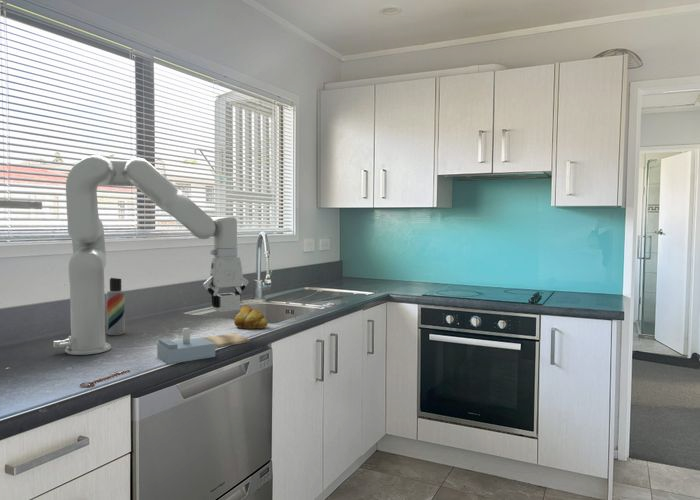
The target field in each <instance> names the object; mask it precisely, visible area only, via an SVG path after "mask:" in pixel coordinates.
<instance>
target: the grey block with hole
mask: <svg viewBox="0 0 700 500" xmlns="http://www.w3.org/2000/svg"><path fill="white" fill-rule="evenodd" d="M234 293H235V292H224V293H217V296H218V308H215V307H213V305H212V304H211V305H212V306H211V309H212V310H213V311H217V312H219V313H222V312H223V313H225V312H232V311H240V309H241V302H240V295H238V294H234Z"/></svg>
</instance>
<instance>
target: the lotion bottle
mask: <svg viewBox="0 0 700 500" xmlns="http://www.w3.org/2000/svg"><path fill="white" fill-rule="evenodd" d="M125 310H126V309H125V290H122V278H117V277H110V278H109V290H108V291H106V318H107V319H106V325H107V326H106V328H107V332H106V333H107V335H109V336H119V335H124V334H125V331H126V319H125V316H126V315H125V312H126V311H125Z"/></svg>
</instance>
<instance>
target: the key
mask: <svg viewBox="0 0 700 500" xmlns="http://www.w3.org/2000/svg"><path fill="white" fill-rule="evenodd" d="M122 371H123V372H121V373H116V372H115V373H116V374H114V375H109V376H105V377H102V378H99V379H97V380H94V381H89V382H87V383H89V384H90V385H88V384H84V383H85V382H83V383H81V384H83V385H81V384H79V385H80V386H81V387H80V388H82V387H87V388H91V387H90V386H92V387H94V386H95V384H97V383H96V382H98V383H101V382H104V381H107V380H110V379H112V378H111V377H113V378H115V377H114V376H116V377H118V376H117V375H119V376H121V375H120V374H122V375H124V374H123V373H125V374H127V373H126V372H128V373H130V372H131V370H130V369H127V370H122ZM109 378H110V379H109ZM106 379H107V380H106ZM103 380H104V381H103ZM100 381H101V382H100ZM94 383H95V384H94Z"/></svg>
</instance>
